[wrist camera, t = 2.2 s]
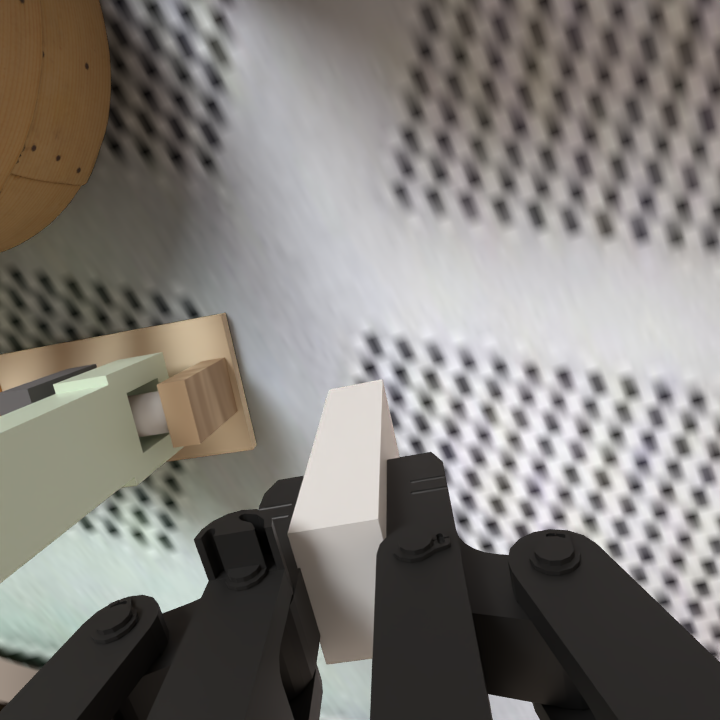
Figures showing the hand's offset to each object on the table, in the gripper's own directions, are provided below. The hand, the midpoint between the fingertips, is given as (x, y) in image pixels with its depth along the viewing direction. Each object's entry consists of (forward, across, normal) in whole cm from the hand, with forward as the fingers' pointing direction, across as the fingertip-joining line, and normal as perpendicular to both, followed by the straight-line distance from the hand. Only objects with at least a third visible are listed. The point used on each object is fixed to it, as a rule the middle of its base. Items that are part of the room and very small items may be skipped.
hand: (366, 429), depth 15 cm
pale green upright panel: (+17, +15, +3) cm, 23 cm away
